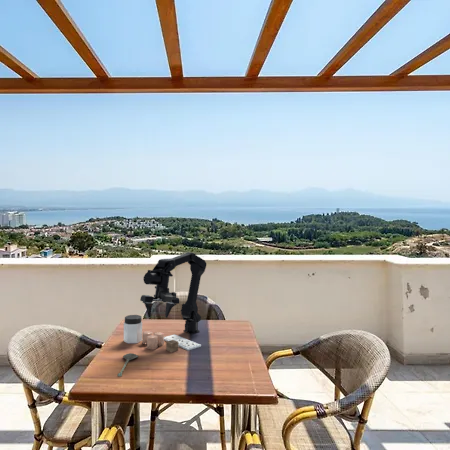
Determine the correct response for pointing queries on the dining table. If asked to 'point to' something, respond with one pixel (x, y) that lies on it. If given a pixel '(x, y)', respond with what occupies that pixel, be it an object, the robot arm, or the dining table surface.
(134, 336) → the jar
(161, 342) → the peach rounded capsule
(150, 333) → the peach rounded piece
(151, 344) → the peach rounded blob
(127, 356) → the soupspoon
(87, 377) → the dining table surface
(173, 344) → the brown cube
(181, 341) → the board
